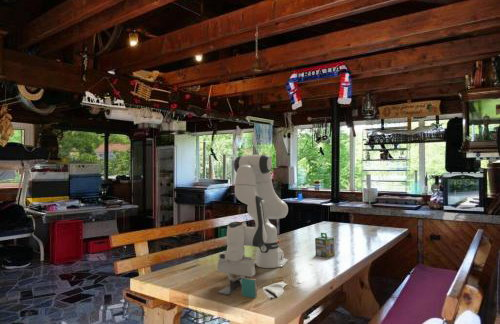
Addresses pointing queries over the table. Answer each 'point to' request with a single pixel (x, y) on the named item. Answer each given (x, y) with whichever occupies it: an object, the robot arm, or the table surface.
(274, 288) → the cloth
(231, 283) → the turner
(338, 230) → the table surface
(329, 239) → the chalk box
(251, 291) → the tile
